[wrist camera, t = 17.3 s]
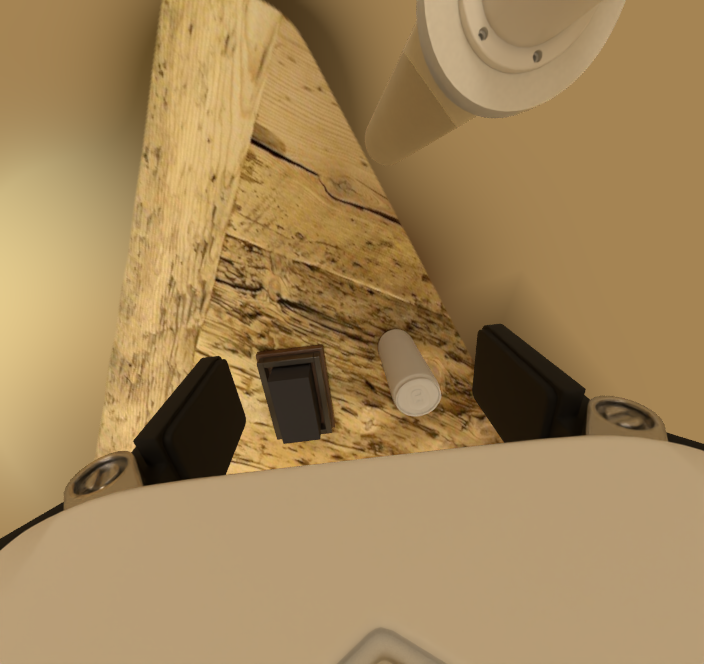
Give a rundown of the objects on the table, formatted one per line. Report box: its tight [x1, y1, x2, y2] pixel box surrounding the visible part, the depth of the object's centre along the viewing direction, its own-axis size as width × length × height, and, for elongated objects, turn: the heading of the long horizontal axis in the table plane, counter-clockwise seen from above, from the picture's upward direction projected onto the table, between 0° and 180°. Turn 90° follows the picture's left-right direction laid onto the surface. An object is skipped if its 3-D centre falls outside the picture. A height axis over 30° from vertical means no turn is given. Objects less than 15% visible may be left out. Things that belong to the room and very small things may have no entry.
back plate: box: [256, 345, 335, 440], centre depth 40 cm, size 14×9×2 cm, turn 6°
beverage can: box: [378, 329, 441, 416], centre depth 34 cm, size 5×5×12 cm
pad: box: [267, 363, 321, 444], centre depth 39 cm, size 10×5×4 cm, turn 6°
